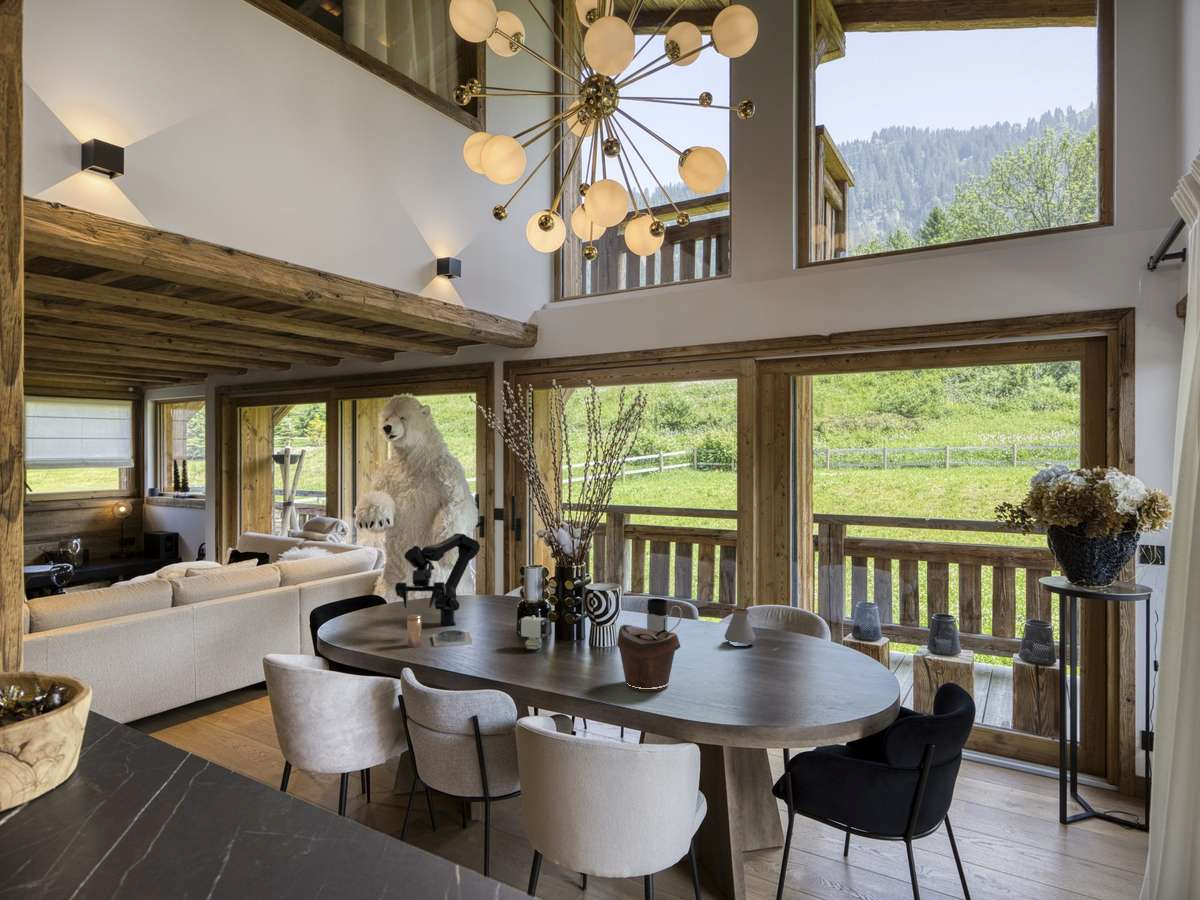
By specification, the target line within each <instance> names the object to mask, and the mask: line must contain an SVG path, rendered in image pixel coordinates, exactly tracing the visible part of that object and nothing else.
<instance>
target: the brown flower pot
mask: <svg viewBox="0 0 1200 900" xmlns="http://www.w3.org/2000/svg"><path fill="white" fill-rule="evenodd" d="M617 635H618V636H617V647H618V649H619V652H620V658H621V664H622V669H623V675H624V679H625V685H626V686H627V688H629V689H631V690H633V691H637V692H640V693H641V692H642V693H651V692H652V693H653V692H660V691H663V690H666V689H667V688H668V687H669V682H670V676H671V673H672V672H671V671H672V666H673V662H674V656H675V653H676V652H675V651H677V650H679V649H680V648H681V643H680V640H679V637H678V635H677V634H676V633H675V632H669V630H667V631H666V630H662V631H660V632H657V631H652V630H648V629H647V628H645V627H644V628H643V627H638V626H634V625H632V624H631V625H630V624H622V625H621V626H620V628H619V629H618V633H617ZM627 683H628V684H629V685H631V686H629V685H628V684H627ZM667 683H668V685H667V686H665V687H662V688H657V689H639V688H635V687H641V688H652V687H659V686H663V685H666V684H667ZM632 686H635V687H632Z"/></svg>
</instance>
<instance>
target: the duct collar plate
mask: <svg viewBox="0 0 1200 900" xmlns="http://www.w3.org/2000/svg"><path fill="white" fill-rule="evenodd" d="M431 637H432V642H433V646H434V647H445V646H457V645H471V644H473V638H472V637H471V634H470V631H462V630H457V629H456V630H446V631H441V632H440V633H432V635H431Z"/></svg>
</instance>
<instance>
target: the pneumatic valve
mask: <svg viewBox="0 0 1200 900" xmlns="http://www.w3.org/2000/svg"><path fill="white" fill-rule="evenodd" d="M515 627H516V631H517V632H518V634H519V637H527V638H528V639H526V641H525V647H526V649H527V650H535V651H536V650H537V649H539V648H540V647H541V646H542V642H541V639H543V638H544V637H545V638H546V636H548V635H549V634H550V632H551V623H550V622H549V621H548V618H547V617H536V615H531V616H523V617H521V618H520V619H518V621H517V623H516V626H515Z"/></svg>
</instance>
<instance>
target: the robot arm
mask: <svg viewBox="0 0 1200 900" xmlns="http://www.w3.org/2000/svg"><path fill="white" fill-rule="evenodd" d="M456 547H457V549H458V550H457V551H458V552H457V553H458V556H457V560H456V561H455V563H454V566H453V567H452V570H451V572H450V574H449V575H448V578H447V580H446V582H443V581H437V582H436V581H435V582H434V583H433V585H430V581H431V579H432V575H433V573H432V572H433V570H435V567H434V565H433V563H432V562H439V561H440V560H441V559H443V558H444V556H445V554H446V553H447V552H449V551H451V550H452V549H454V548H456ZM480 547H481V546H480V543H479V541H478V540H475V539H474V538H472V537H469V536H467V535H466V534H464V533H457V532H456V533H454V534H453V535H451V536H450V537H448V538H446V539H444V540H442V541H440V542H438V543H435V544H429V545H426V546H424V547H423V548H422V549H421V548H420V547H419V546H418V545H413V547H412V548H409V549H408V550H407V551H406V552H405V553H404V558H405V560H406V561H407V562H408V564H410V566H412V568H415V569H416V570H412V578H411V579H412V585H408V583H407V582H406V581H405V582H396V584H395V586H394V589H395V593H396V596H397V597H399V598H401V599H403V605H404V609H407V607H408V598H409V596H408V593H409V592H419V593H420V592H422V593H423V592H425V593H426V592H427V593H428V592H429V593H430V592H431V593H432V594H431V596H430V601H429V609H431V608H432V607H433V606H434V607H435V610H440V614H439V617H440V618H439V620H440V621H438V625H439V626H440V627H445V626H447V627H448V626H456V620H455V611H457V610H459V609H460V603H459V601H458V600H457V596H458V595H457V588H458V586H459V584H460V581H461V579H462V577H463V576H464V573H465V572H466V568H467V566H468V565H469V563H470V561H471V560H472V559H474V558H475V557H476V556H477V554H478V553H479V552H480Z"/></svg>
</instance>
